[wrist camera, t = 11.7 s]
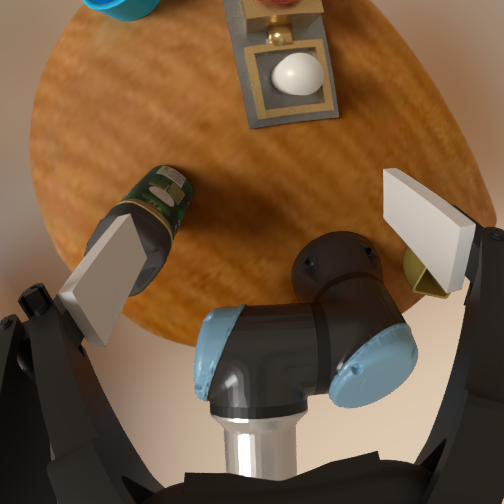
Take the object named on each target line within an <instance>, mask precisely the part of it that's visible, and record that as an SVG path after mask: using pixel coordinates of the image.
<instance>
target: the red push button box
mask: <svg viewBox="0 0 504 504" xmlns="http://www.w3.org/2000/svg"><path fill="white" fill-rule="evenodd" d="M223 4H224V8H225V13H226V17H227V22H228V26H229V31H230V36H231V40H232V45H233V50H234V55H235V59H236V64H237V69H238V74H239V79H240V84H241V89H242V93H243V98H244V103H245V108H246V114H247V119H248V124H249V129H253V128H259V127H265V126H271V125H278V124H285V123H292V122H300V121H308V120H317V119H326V118H337V117H339V112H338V104H337V97H336V90H335V84H334V77H333V71H332V65H331V60H330V54H329V49H328V44H327V39H326V34H325V29H324V25H323V20H322V16H321V15H322V14H323V13H324V9H323V5H322V1H321V0H223ZM294 53H306V54H309V55H311V56H313V57H314V58H316V59H317V60H318V61H319V62H320V64H321V65H322V68H323V71H324V80H323V83H322V85H321V87H320V88H319V89H318V90H317V91H315V92H314V93H312V94H309V95H291V94H283V93H281V92H279V91H277V90H276V89H275V88H274V87H273V85H272V83H271V72H272V70H273V69H274V68H275V67H276V66H277V65H278V64H279V63H280V62H281V61H282V60H283V59H285V58H286V57H287V56H289V55H291V54H294Z"/></svg>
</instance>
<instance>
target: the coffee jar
mask: <svg viewBox="0 0 504 504" xmlns="http://www.w3.org/2000/svg"><path fill="white" fill-rule="evenodd" d="M192 198H193V188H192V186H191V184H190V182H189V181H188V180H187V179H186V178H185V177H184V176H183V175H182V174H180V173H179V172H178V171H176V170H175V169H173V168H171V167H169V166H163V165H161V166H157V167H155V168H153V169H152V170H151V171H150V172H149V173H147V174H146V175H145V176H144V177H143V178H142V179H141V180H140V181H139V182H138V184H136V186H135V187H133V188H132V189H131V190H130V192H129V193H128V194H127V195H126V196H125V197H124V198H123V199H122V200H121V201H120V202H119V203H118V204H116V205H115V206H114V207H113V208H112V209H111V210H110V211H109V212H108V214H107V215H106V216H105V218H103V219H102V220H100V222H99V224H98V226H97V227H96V229H95V231H94V232H93V234H92V236H91V238H90V239H89V241H88V243H87V248H86V250H85V254H84V257H85V256H86V255H87V253H88V252H89V251H90V250H91V248H92V247H93V246H94V245H95V243H96V242H97V241H98V240H99V239H100V237H101V236H102V235H103V234H104V232H105V231H106V230H107V229H108V228H109V227H110V225H111V224H112V223H113V222H114V221H115V220H116V218H117V217H119V216H123V215H127V214H131V217H132V220H133V223H134V225H135V228H136V231H137V233H138V236H139V239H140V241H141V244H142V247H143V249H144V252H145V254H146V257H147V259H146V261H145V263H144V265H143V267H142V269H141V271H140V273H139V275H138V277H137V279H136V281H135V283H134V285H133V288H132V290H131V292H130V294H129V296H128V297H130V296H135V295H137V294H139V293H141V292H142V291H143V290H144V289H145V288H146V287H147V286H148V285H149V284H150V283H151V282H152V281H153V279H154V278H155V277H156V276H157V274H158V273H159V271H160V270H161V269H162V267H163V266H164V264H165V262H166V260H167V257H168V255H169V253H170V251H171V248H172V244H173V240H174V237H175V235H176V233H177V231H178V228H179V226H180V224H181V222H182V219H183V217H184V215H185V213H186V211H187V209H188V207H189V205H190V203H191V201H192Z"/></svg>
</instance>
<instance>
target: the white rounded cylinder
mask: <svg viewBox="0 0 504 504" xmlns="http://www.w3.org/2000/svg"><path fill="white" fill-rule="evenodd" d="M323 80H324V71H323V68H322V65H321V64H320V62H319V61H318V60H317V59H316V58H314V57H313V56H311V55H309V54H306V53H294V54H291V55H289V56H287V57H286V58H285V59H283V60H282V61H281V62H280V63H279V64H278V65H277V66H276V67H275V68H274V69H273V70H272V72H271V83H272V85H273V87H274V88H275V89H276V90H277V91H279V92H281V93H283V94H291V95H309V94H312V93H314V92H315V91H317V90H318V89H319V88H320V87H321V85H322V83H323Z"/></svg>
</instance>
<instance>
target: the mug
mask: <svg viewBox="0 0 504 504" xmlns="http://www.w3.org/2000/svg"><path fill="white" fill-rule="evenodd" d="M83 1H84V3H85V4H86V5H87V6H88V7H89V8H92V9H94V10H96V11H99V12H101V13H104V14H106V15H108V16H110V17H113V18H115V19H117V20H121V21H134V20H137V19H140V18H142V17H144V16H146V15H148V14H149V13H150V12H151V11H152V10H153V9H155V7H156V6H157V5H158V3H159V2H160V0H83Z"/></svg>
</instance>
